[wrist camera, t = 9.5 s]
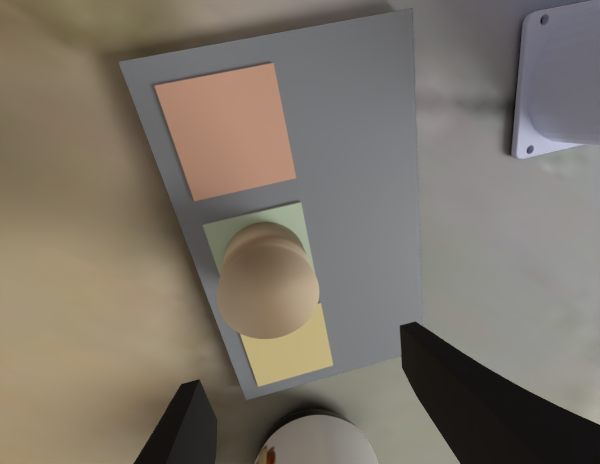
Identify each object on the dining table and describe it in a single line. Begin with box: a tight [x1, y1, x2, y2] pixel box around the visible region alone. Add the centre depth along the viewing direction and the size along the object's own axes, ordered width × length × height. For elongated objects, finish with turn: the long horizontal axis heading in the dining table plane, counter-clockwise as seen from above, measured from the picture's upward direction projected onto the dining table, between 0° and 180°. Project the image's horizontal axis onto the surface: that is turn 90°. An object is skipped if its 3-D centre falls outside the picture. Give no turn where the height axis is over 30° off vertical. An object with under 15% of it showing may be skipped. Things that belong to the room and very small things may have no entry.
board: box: [119, 8, 423, 401], centre depth 18 cm, size 14×22×1 cm, turn 11°
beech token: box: [216, 222, 319, 339], centre depth 15 cm, size 5×5×4 cm
